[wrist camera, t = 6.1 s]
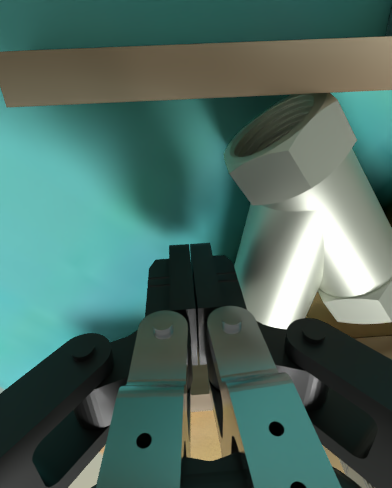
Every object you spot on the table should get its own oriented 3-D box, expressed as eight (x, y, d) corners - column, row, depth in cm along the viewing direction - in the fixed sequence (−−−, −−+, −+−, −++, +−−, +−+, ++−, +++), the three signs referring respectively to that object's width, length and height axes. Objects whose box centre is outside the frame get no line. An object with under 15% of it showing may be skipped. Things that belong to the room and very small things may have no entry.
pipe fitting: (255, 308, 17) (388, 240, 15) (269, 376, 14) (442, 303, 11) (150, 190, 13) (304, 78, 11) (135, 246, 10) (349, 102, 8)
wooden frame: (28, 50, 10) (-11, 52, 8) (784, 20, 11) (934, 14, 9) (109, 372, 17) (100, 419, 15) (555, 338, 18) (607, 378, 16)
